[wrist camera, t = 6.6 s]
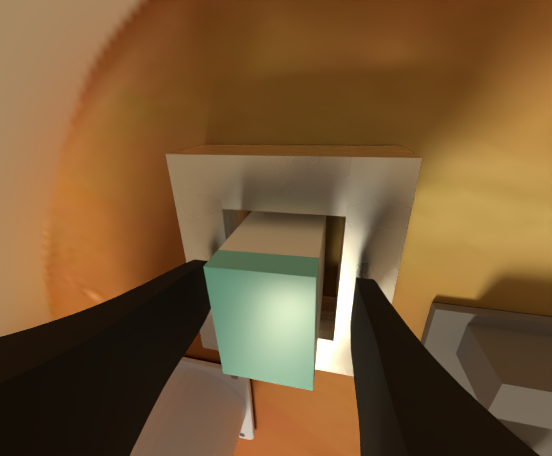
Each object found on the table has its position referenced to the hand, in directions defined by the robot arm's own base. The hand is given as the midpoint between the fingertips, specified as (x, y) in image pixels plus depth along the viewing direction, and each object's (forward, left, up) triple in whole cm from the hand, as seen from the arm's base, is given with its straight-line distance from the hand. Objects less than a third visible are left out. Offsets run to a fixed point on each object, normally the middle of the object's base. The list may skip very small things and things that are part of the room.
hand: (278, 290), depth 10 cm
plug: (0, 0, -4) cm, 4 cm away
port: (0, 0, -4) cm, 4 cm away
